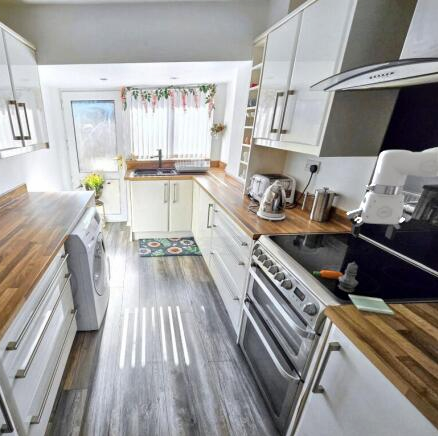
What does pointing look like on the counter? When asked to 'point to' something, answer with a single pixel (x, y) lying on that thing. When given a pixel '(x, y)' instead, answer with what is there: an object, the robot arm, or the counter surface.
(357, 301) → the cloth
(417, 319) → the counter surface
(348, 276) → the grey chess piece
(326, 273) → the carrot
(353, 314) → the counter surface
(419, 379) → the counter surface
